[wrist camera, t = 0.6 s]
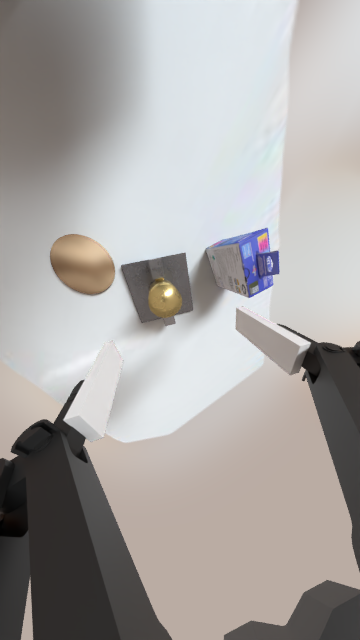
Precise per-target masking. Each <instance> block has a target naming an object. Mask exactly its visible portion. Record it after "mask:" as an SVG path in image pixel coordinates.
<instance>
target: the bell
mask: <svg viewBox="0 0 360 640" xmlns="http://www.w3.org/2000/svg"><path fill="white" fill-rule="evenodd" d="M148 304H149V308H150V310H151V311H152V312H153V313H154V314H155V315H156V316H158V317H162V318H168V317H172V316H174V315H175V314H177V313H178V311H179V310H180V308H181V306H182V297H181V294H180V293H179V291H178V290H177V289H176V288H175V286H174V285H173V284H172V283H171V282H170V281H168V280H166V279H164V278H159V279H155V281H154V282H153V283H152V284H151V286H150V288H149V298H148Z"/></svg>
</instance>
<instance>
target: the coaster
mask: <svg viewBox="0 0 360 640" xmlns="http://www.w3.org/2000/svg"><path fill="white" fill-rule="evenodd" d="M50 259H51V264H52V267H53V269H54V271H55V273H56V274H57V276H58V277H59V278H60V279H61V280H62V281H63V282H64V283H65V284H66V285H67V286H69V287H70V288H72V289H74V290H76V291H79V292H82V293H87V294H95V293H100V292H102V291H104V290H106V289H107V288H108V287H109V286H110V285H111V284H112V282H113V280H114V277H115V267H114V263H113V261H112V258H111V257H110V255H109V253H108V252H107V251H106V250H105V248H104V247H103V246H101V245H100V244H99V243H98V242H96V241H94V240H93V239H91V238H88V237H85V236H82V235H77V234H70V235H65V236H63V237H60V238H59V239H57V240H56V241H55V243H54V244H53V246H52V248H51V252H50Z"/></svg>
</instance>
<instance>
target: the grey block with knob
mask: <svg viewBox="0 0 360 640" xmlns="http://www.w3.org/2000/svg"><path fill="white" fill-rule="evenodd" d="M121 267H122V270H123V272H124V275H125V278H126V281H127V283H128V286H129V289H130V292H131V294H132V297H133V300H134V303H135V305H136V308H137V311H138V314H139V316H140V319H141V322H142V323H143V322H147V321H151V320H155V319H159V318H162V317H158V316H156V315H155V314H154V313H153V312H152V311H151V310H150V308H149V304H148V298H149V288H150V286H151V284H152V283H153V282H154V281H155V279H159V278H164V279H166V280H168V281H170V282H171V283H172V284H173V285H174V286H175V288H176V289H177V290H178V291H179V293H180V294H181V297H182V306H181V308H180V310H179V311H178V313H177V314H180V313H184V312H188V311H192V310H193V306H192V298H191V291H190V283H189V276H188V268H187V261H186V253H181V254H176V255H171V256H166V257H161V258H156V259H151V260H145V261H140V262H135V263H130V264H125V265H121ZM175 315H176V314H175ZM163 319H164V323H165V326H168V325H172V324H175V319H174V316H172V317H168V318H163Z"/></svg>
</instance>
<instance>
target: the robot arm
mask: <svg viewBox="0 0 360 640" xmlns="http://www.w3.org/2000/svg"><path fill="white" fill-rule="evenodd" d="M236 330H237V331H238V332H240V333H241V334H242V335H243V336H244V337H245V338H247V339H248V340H249V341H250V342H251V343H252V344H254V345H255V346H256V347H257V348H258V349H259V350H261V351H262V352H263V353H264V354H265V355H266V356H268V357H269V358H270V359H271V360H272V361H274V362H275V363H276V364H277V365H278V366H279V367H281V368H282V369H283V370H284V371H285V372H287V373H288V374H289V375H293V374H295V373H299V371H300V369H301V366H302V367H303V368H305V369H306V371H305V373H304V375H303V378H302V381H305V378H307V382H308V384H309V387H310V390H311V394H312V397H313V400H314V403H315V406H316V409H317V412H318V416H319V419H320V422H321V425H322V428H323V431H324V435H325V437H326V441H327V444H328V447H329V450H330V453H331V456H332V460H333V463H334V466H335V469H336V472H337V475H338V479H339V482H340V485H341V488H342V491H343V494H344V498H345V501H346V504H347V507H348V510H349V513H350V517H351V520H352V545H353V549H354V553H355V557H356V561H357V564H358V568H359V571H360V341H359V342H357V343H356V345H355V346H354V347H350V348H349V347H347V348H342V347H340V346H338V345H335V344H332V343H324V342H323V343H317V342H315V341H313V340H311V339H310V338H308V337H306V336H304V335H302V334H300V333H297V332H296V331H294V330H292V329H290V328H288V327H286V326H284V325H280V324H275V323H273V322H271V321H270V320H268V319H266V318H264V317H262V316H260V315H258V314H257V313H255V312H253V311H251V310H249V309H247V308H245V307H244V306H242V307H238V308H236ZM123 361H124V360H123V359H122V357H121V355H120V353H119V351H118V349H117V348H116V346H115V344H114V342H113V340H112V341H109V342H105V343H104V345H103V346H102V348H101V350H100V352H99V354H98V356H97V358H96V360H95V361H94V363H93V365H92V367H91V369H90V371H89V373H88V375H87V376H86V378H85V380H81V381H80V382H79V383H78V384H77V385H76V386H75V388H74V389H73V391H72V393H71V394H70V396H69V398H68V399H67V402H66V403H65V405H64V406H63V408H62V410H61V412H60V414H59V415H58V417H57V418H56V420H55V422H54V424H53V423H51V422H50V421H48V420H40V421H38V422H36V423H34V424H33V425H31V426H30V427H29V428H28V429H26V430H25V431H24V432H23V433H22V434H21V435H20V437H18V439H17V440H16V441H15V443H14V445H13V446H12V449H11V452H12V453H14V454H17V455H19V456H17V457H15V458H14V459H12V460H10V461H8V460H6V459H4V458H2V459H0V640H21V633H22V626H23V620H24V613H25V606H26V599H27V593H28V586H29V579H30V577H31V599H32V619H33V640H172V639H171V637H170V635H169V634H168V632H167V630H166V629H165V628H164V627H163V626H162V624H161V623H160V622H159V620H158V619H157V617H156V615H155V612H154V610H153V608H152V605H151V603H150V601H149V598H148V597H147V593H146V591H145V589H144V586H143V584H142V582H141V579H140V577H139V574H138V572H137V570H136V567H135V565H134V563H133V560H132V558H131V555H130V553H129V551H128V548H127V546H126V543H125V541H124V538H123V536H122V534H121V531H120V529H119V527H118V524H117V522H116V519H115V517H114V515H113V512H112V510H111V507H110V505H109V503H108V500H107V498H106V495H105V493H104V491H103V488H102V486H101V484H100V481H99V479H98V477H97V474H96V472H95V469H94V467H93V464H92V462H91V460H90V457H89V455H88V452H87V450H86V448H85V447H84V446H83V444H84V442H85V439H88V440H89V441H90V442H93V441H95V440H99V439H102V438H104V434H105V431H106V427H107V423H108V419H109V415H110V411H111V407H112V403H113V400H114V396H115V392H116V388H117V384H118V380H119V376H120V372H121V369H122V365H123ZM224 640H360V590H358V589H355V588H352V587H349V586H345V585H342V584H339V583H336V582H332V581H329V580H326V581H325V582H323V583H321V584H319V585H317V586H315V587H313V588H311V589H310V590H308V591H306V592H304V593H303V595H302V597H301V599H300V601H299V603H298V604H297V606H296V608H295V610H294V612H293V614H292V615H291V618H290V619H289V621H288V623H287V624H286V625H285V626H279V625H273V624H267V623H262V622H256V621H250V622H248V623H246V624H244V625H242V626H240V627H238V628H237V629H235V630H233V631H231V632H229V633H227V634H226V635H224Z"/></svg>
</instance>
